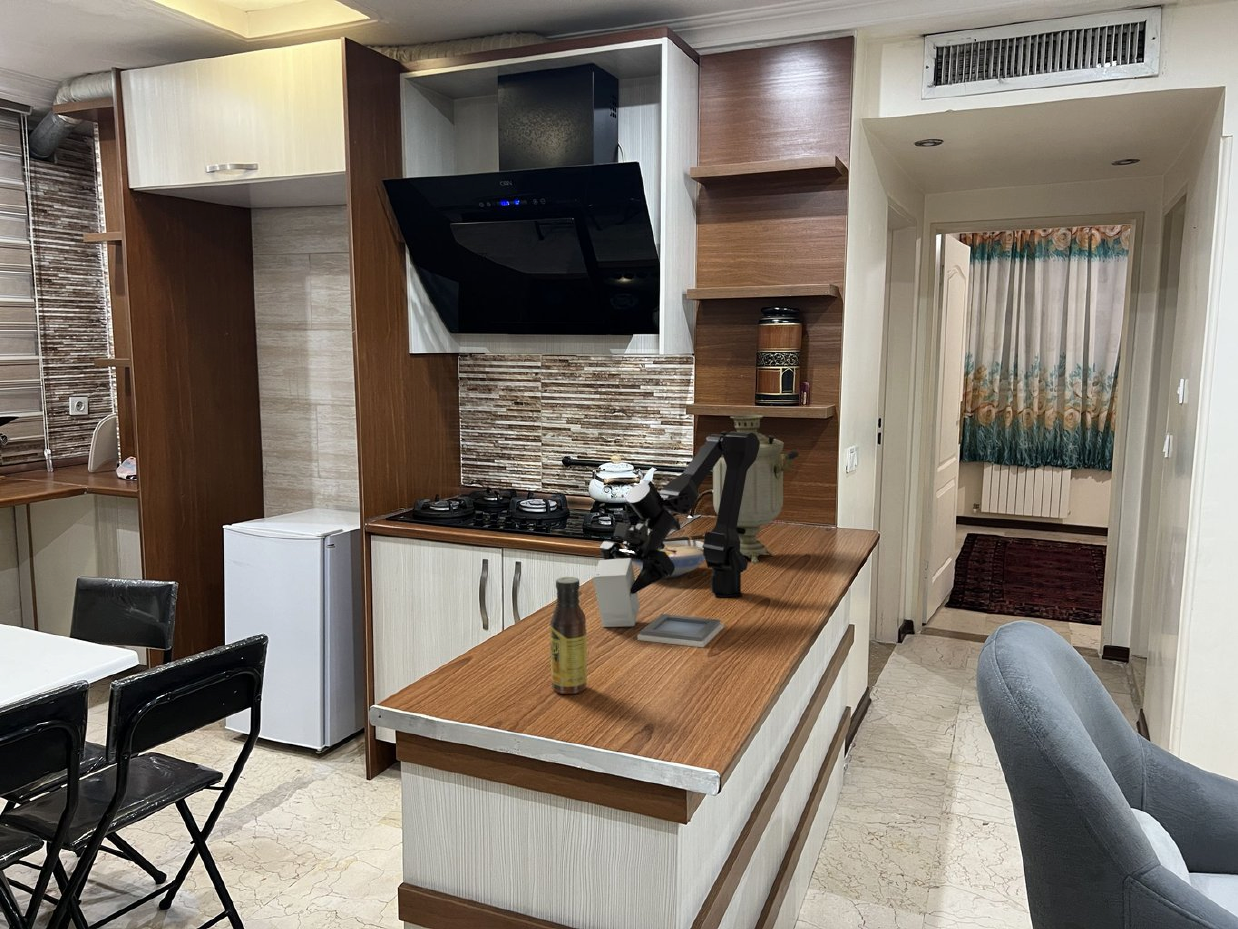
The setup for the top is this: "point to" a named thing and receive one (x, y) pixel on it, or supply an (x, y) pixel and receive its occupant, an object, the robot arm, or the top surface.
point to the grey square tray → (681, 630)
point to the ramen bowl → (682, 553)
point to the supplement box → (616, 592)
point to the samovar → (756, 486)
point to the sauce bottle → (568, 639)
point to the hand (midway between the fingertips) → (616, 588)
